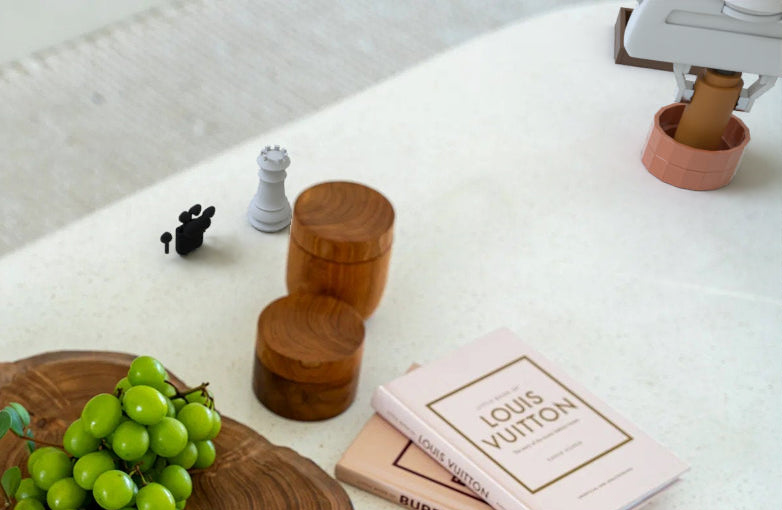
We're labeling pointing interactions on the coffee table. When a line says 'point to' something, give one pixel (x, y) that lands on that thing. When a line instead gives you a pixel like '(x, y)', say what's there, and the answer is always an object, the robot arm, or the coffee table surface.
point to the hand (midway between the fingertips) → (711, 104)
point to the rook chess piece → (270, 192)
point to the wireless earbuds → (189, 230)
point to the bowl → (692, 153)
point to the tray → (625, 59)
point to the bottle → (709, 108)
